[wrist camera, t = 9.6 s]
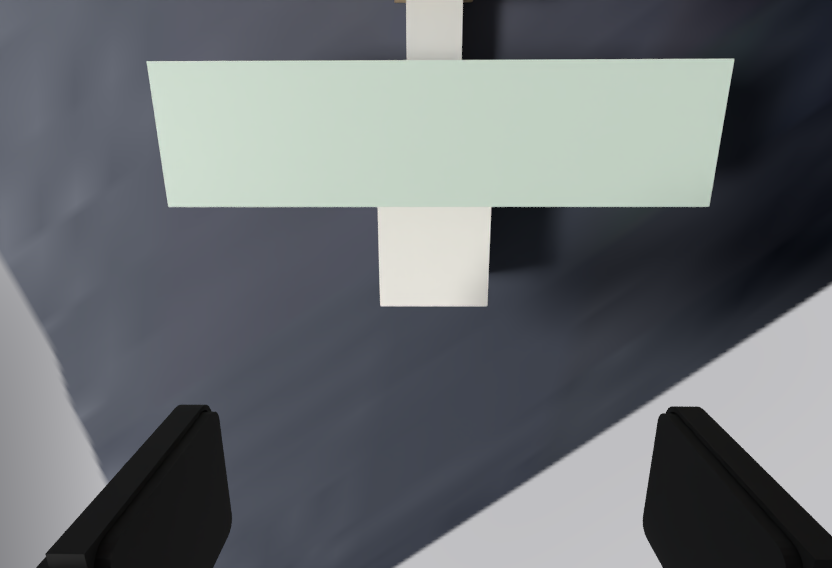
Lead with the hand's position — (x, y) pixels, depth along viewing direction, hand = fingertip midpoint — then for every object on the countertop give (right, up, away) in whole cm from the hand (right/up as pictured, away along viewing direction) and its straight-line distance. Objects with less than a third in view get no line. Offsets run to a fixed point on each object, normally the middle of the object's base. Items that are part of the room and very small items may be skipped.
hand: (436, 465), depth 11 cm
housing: (0, +10, +10) cm, 14 cm away
